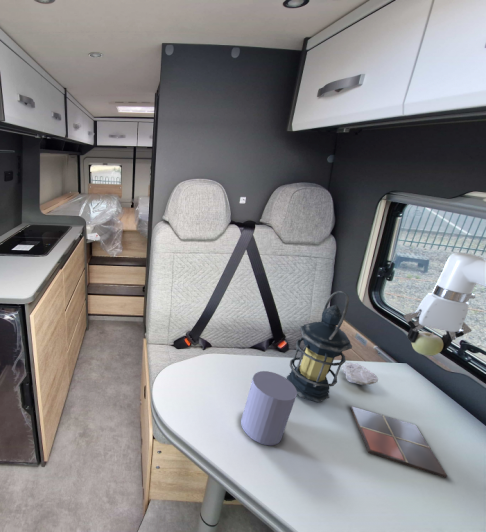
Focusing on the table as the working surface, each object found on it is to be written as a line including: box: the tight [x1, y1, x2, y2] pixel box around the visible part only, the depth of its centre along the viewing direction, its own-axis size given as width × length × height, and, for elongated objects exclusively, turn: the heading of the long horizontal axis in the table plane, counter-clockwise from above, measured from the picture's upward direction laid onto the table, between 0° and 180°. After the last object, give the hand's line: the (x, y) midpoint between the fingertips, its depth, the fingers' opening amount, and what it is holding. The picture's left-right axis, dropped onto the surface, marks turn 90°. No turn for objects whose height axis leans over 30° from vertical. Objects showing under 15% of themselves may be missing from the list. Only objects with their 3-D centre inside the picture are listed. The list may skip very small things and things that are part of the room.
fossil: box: [341, 362, 379, 386], centre depth 105 cm, size 9×6×10 cm
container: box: [240, 370, 298, 446], centre depth 80 cm, size 10×10×15 cm
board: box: [350, 405, 448, 479], centre depth 83 cm, size 16×16×1 cm
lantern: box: [286, 290, 353, 403], centre depth 92 cm, size 14×13×35 cm
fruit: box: [410, 331, 443, 357], centre depth 97 cm, size 8×7×8 cm
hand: (426, 343), depth 98 cm, fingers closed on fruit, 7 cm apart
